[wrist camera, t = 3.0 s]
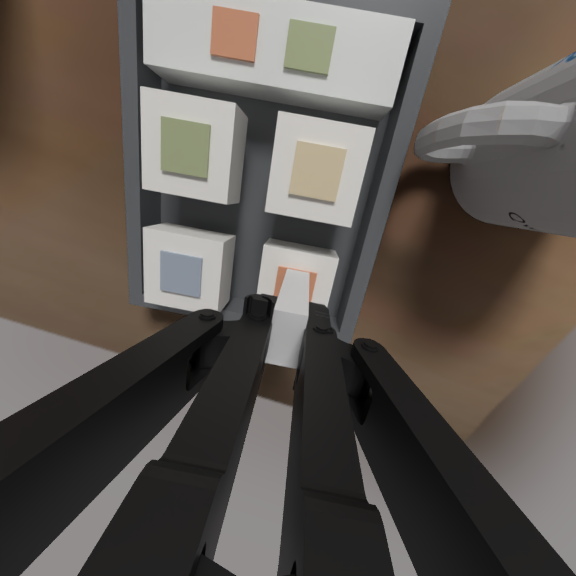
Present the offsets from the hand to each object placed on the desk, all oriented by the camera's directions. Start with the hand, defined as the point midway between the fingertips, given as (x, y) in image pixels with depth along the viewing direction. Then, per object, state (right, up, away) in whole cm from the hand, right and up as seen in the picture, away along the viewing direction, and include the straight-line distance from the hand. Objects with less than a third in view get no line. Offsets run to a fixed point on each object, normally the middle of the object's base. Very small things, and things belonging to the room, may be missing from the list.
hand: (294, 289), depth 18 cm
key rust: (0, +1, +3) cm, 3 cm away
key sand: (+1, +7, -1) cm, 7 cm away
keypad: (-2, +8, +2) cm, 8 cm away
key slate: (-7, +2, +2) cm, 8 cm away
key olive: (-6, +9, -1) cm, 10 cm away
